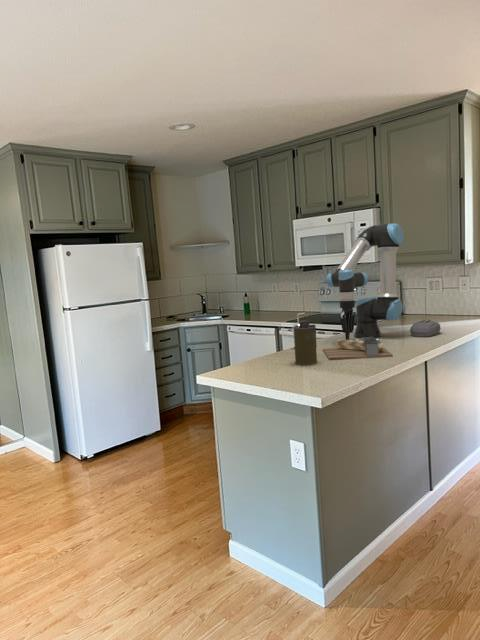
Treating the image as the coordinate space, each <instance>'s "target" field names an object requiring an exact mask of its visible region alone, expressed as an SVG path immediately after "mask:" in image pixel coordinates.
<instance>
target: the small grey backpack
mask: <svg viewBox="0 0 480 640" xmlns="http://www.w3.org/2000/svg"><path fill="white" fill-rule="evenodd" d="M440 330H441V324H440V323H439V322H436V321H432V320H430V319H428V320H426V319H423V320H420V321H417V322H414V323H413V324H412V325H411V327H410V330H409V332H410V335H411V336H413V337H419V338H420V337H421V338H423V337H424V338H425V337H433V336H436V335H438V334H439V333H440Z"/></svg>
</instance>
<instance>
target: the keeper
mask: <svg viewBox="0 0 480 640" xmlns="http://www.w3.org/2000/svg"><path fill="white" fill-rule="evenodd" d="M360 339H361V340H360V341H363V342H364V343H365V354H366V355H367V356H372V355H379V352H378V340H377V339H378V338H374V337H361V338H360Z"/></svg>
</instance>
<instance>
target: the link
mask: <svg viewBox="0 0 480 640" xmlns="http://www.w3.org/2000/svg"><path fill="white" fill-rule="evenodd" d="M336 348H342V349H354V350H365V343H364V342H363V341H362V340H346V339H337V340H336ZM383 348H384V342H382V341H381V342H380V343H378V352H382V351H383Z"/></svg>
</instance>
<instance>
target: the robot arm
mask: <svg viewBox="0 0 480 640" xmlns="http://www.w3.org/2000/svg"><path fill="white" fill-rule="evenodd" d="M404 236H405V235H404V231H403V228H402V227H401V225H399V223H386V224H377V225H376V224H375V225H371V226H368V227H367V228H366V229H364V230H363V231H362V232H361V233H359V235H358V236H357V237H356V239H355V240H354V244H353V245H352V247H351V249H349V251H348V253H347V254H346V256H345V257H344V258H343V260H342V261H341V263H340V264H339V265H338V267H337V268H336V270H335V271H334V272H330V273H328V274H327V275H326V279H325V280H326V281H325V282H326V285H327V286H328V287H330V288H339V290H338V291H339V308H340V309H341V314H339V316H338V317H339V319H340V324H341V329H342V330H341V331H342V333H343V334H345V335H344V336H345V340H352V338H353V337H352V333H353V334H354V337H355V338H357V339H361V337H374V338H375V339H378V338H380V337H382V335H381V334H382V333H381V331H380V327H379V324H378V320H381V321H382V320H383V321H384V320H385V321H396V320H398V319H399V318H400V316H401V315H402V313H403V308H404V305H403V302H402V300H401V299H399V295H398V294H397V288H396V287H397V284H396V283H397V251H398V250H399V248H400V245H401V244H403V242H404V239H405V237H404ZM376 246H377V250H378V251H380V254H379V255H380V259H379V260H380V261H379V262H380V263H379V264H380V265H379V271H380V272H379V294H378V295H377V296H371V297H363V298H358V299H357V300H356V301H355V298H356V297H355V288H360V287H364V286H366V285H367V284H368V281H369V276H368V274H367V273H365V272H361V271H359V272H354V269H355V267H356V266H357V264H358V263H359V262H360V260H361V259H362V257H363V256H364V254H365V253H366V252H367V251H369V250H370V249H371V248H373V247H376ZM355 302H356V304H355ZM355 308H356V310H355V311H354V309H355ZM355 321H356V326H355Z"/></svg>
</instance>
